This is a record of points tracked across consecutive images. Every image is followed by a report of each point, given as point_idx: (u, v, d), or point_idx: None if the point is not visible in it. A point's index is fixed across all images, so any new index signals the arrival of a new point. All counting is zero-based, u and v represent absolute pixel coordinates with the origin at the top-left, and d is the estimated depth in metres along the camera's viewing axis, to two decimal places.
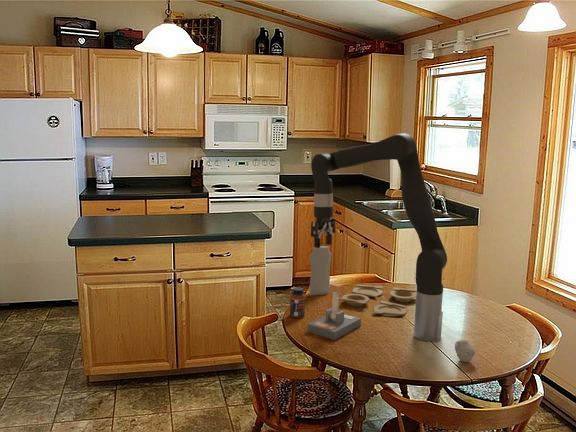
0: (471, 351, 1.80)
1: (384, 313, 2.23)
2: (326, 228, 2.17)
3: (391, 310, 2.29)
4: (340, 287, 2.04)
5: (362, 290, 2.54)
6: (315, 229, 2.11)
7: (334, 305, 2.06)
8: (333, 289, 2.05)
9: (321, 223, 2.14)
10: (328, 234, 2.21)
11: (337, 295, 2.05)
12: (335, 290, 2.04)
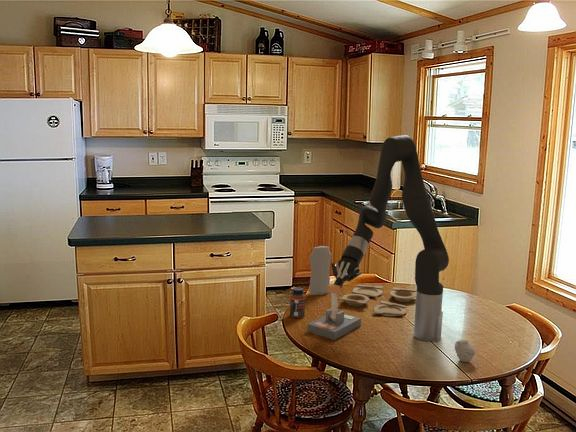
0: (471, 351, 1.80)
1: (384, 313, 2.23)
2: (344, 266, 2.09)
3: (391, 310, 2.29)
4: (338, 288, 2.03)
5: (362, 290, 2.54)
6: None
7: (333, 306, 2.06)
8: (331, 290, 2.04)
9: (340, 262, 2.11)
10: None
11: (335, 296, 2.05)
12: (333, 291, 2.03)
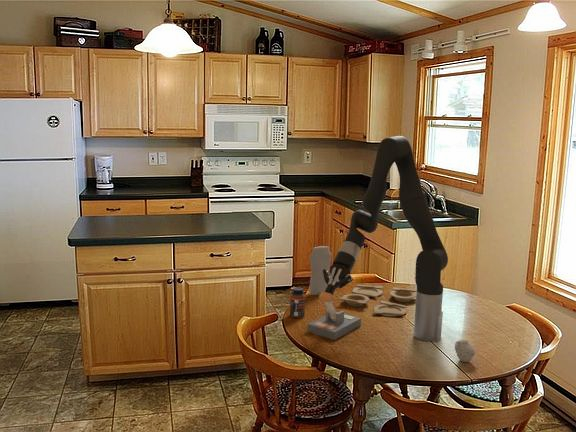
0: (471, 351, 1.79)
1: (384, 313, 2.23)
2: (335, 272, 2.05)
3: (391, 310, 2.29)
4: (329, 297, 1.99)
5: (362, 290, 2.54)
6: (324, 276, 2.07)
7: (330, 310, 2.04)
8: (324, 300, 2.01)
9: (332, 268, 2.07)
10: None
11: (329, 302, 2.02)
12: (326, 301, 2.00)
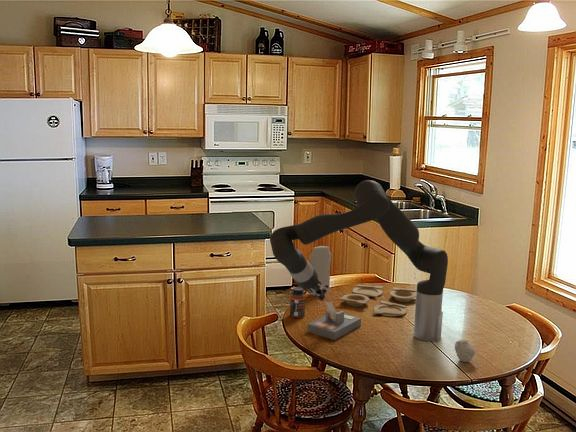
0: (471, 351, 1.79)
1: (384, 313, 2.23)
2: (309, 287, 1.93)
3: (391, 310, 2.29)
4: (330, 297, 1.99)
5: (362, 290, 2.54)
6: None
7: (330, 310, 2.04)
8: (324, 300, 2.01)
9: None
10: None
11: (330, 302, 2.02)
12: (326, 300, 2.00)
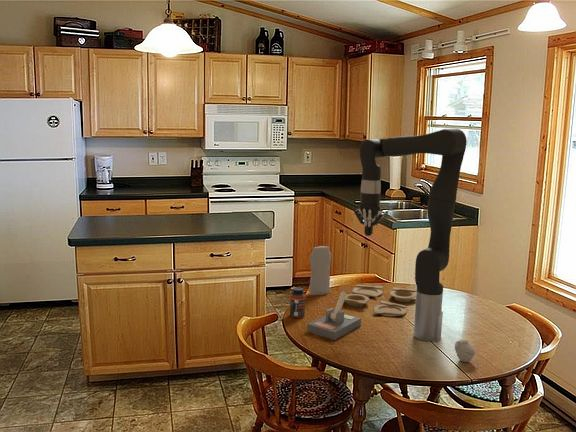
0: (471, 351, 1.80)
1: (384, 313, 2.23)
2: (366, 212, 2.14)
3: (391, 310, 2.29)
4: (350, 288, 2.10)
5: (362, 290, 2.54)
6: None
7: (338, 304, 2.08)
8: (343, 288, 2.10)
9: (361, 208, 2.15)
10: None
11: (344, 296, 2.10)
12: (344, 289, 2.10)
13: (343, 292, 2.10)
